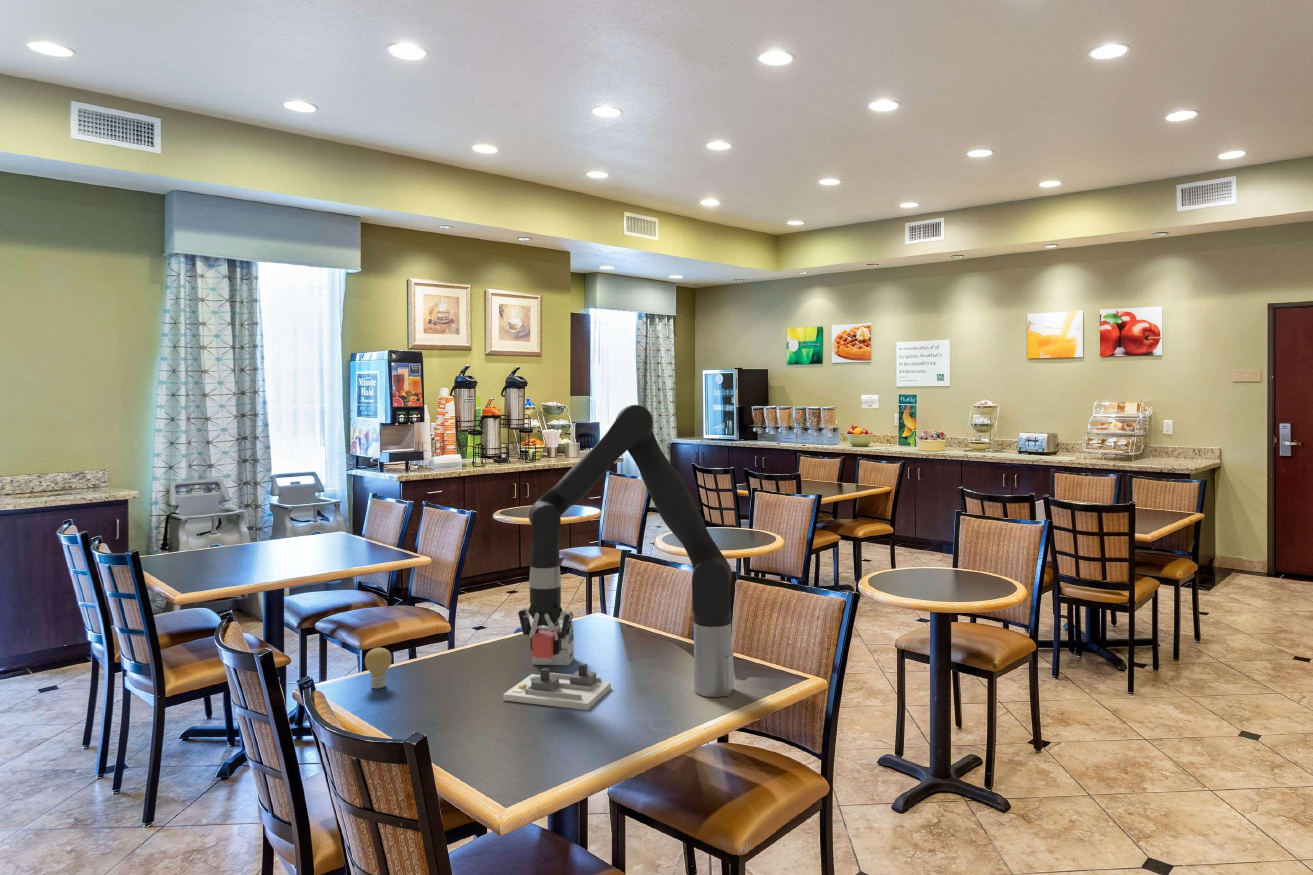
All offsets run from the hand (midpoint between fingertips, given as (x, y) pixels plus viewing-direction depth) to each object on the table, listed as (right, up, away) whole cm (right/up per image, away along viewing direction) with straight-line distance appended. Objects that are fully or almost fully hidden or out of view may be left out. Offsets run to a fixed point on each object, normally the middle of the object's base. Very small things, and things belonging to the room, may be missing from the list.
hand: (545, 652), depth 196 cm
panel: (+3, -11, +2) cm, 11 cm away
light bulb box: (-2, -10, +27) cm, 29 cm away
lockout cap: (0, 0, 0) cm, 0 cm away
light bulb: (-44, -11, +8) cm, 46 cm away
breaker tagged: (0, -9, 0) cm, 9 cm away
